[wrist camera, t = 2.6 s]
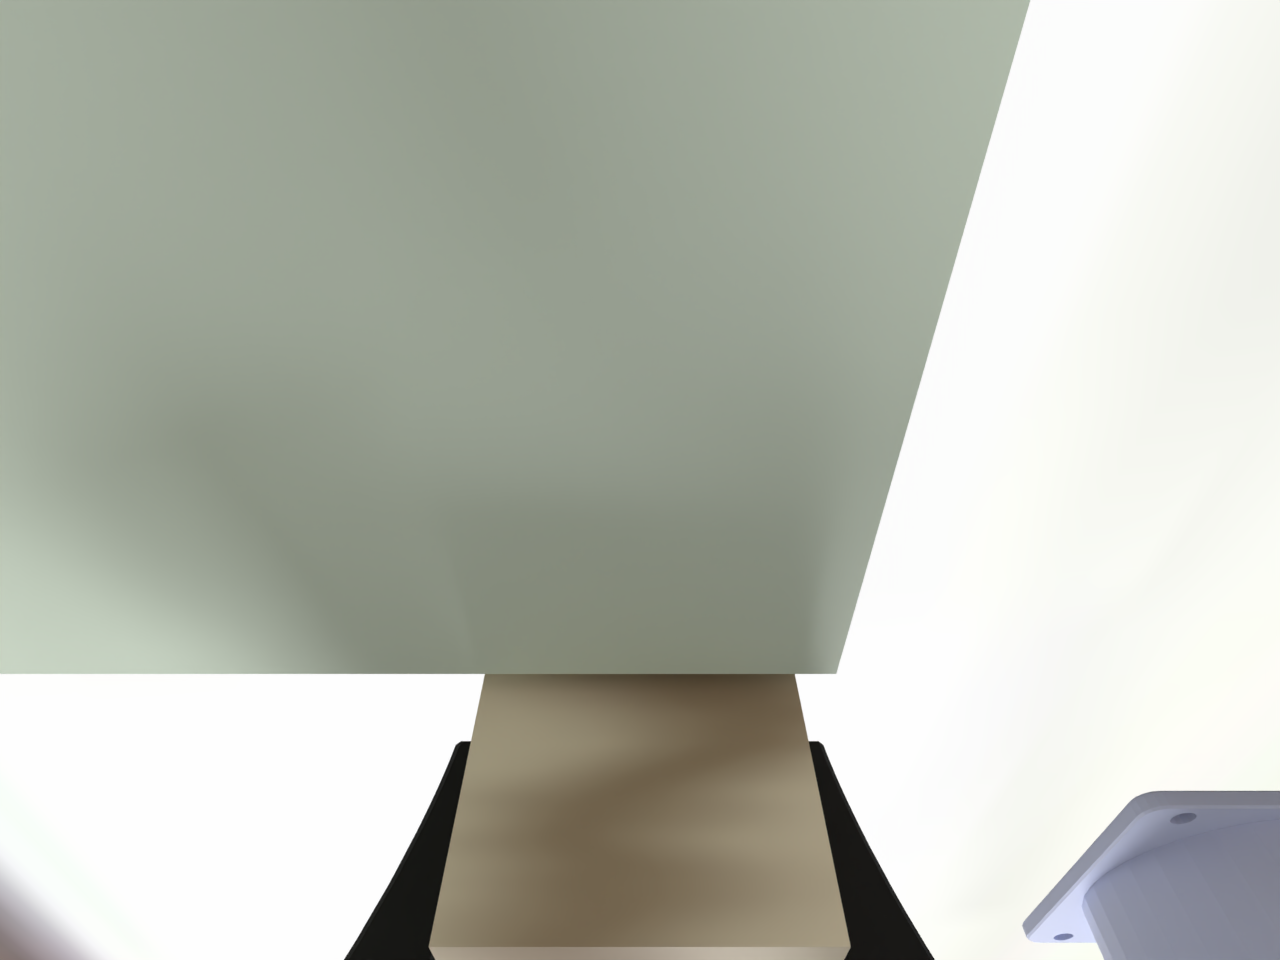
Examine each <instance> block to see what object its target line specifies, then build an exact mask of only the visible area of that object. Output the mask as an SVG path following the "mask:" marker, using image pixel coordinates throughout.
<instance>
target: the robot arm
mask: <svg viewBox="0 0 1280 960" xmlns="http://www.w3.org/2000/svg"><path fill="white" fill-rule="evenodd" d="M470 744H471V741H461V742H459V743H458V744H456V745H455V748H454V750H453V753H452V756H451V758H450V761H449V763H448V765H447V768H446V770H445V772H444V775H443V777H442V779H441V782H440V784H439V786H438V788H437V790H436V793H435V795H434V797H433V799H432V801H431V803H430V805H429V807H428V810H427V812H426V814H425V816H424V818H423V820H422V822H421V824H420V826H419V828H418V830H417V832H416V834H415V836H414V838H413V839H412V841H411V843H410V845H409V847H408V849H407V851H406V853H405V855H404V857H403V858H402V860H401V862H400V864H399V866H398V868H397V870H396V872H395V874H394V876H393V877H392V879H391V881H390V883H389V885H388V886H387V888H386V890H385V892H384V893H383V895H382V897H381V898H380V900H379V902H378V904H377V905H376V907H375V909H374V910H373V912H372V914H371V915H370V917H369V919H368V921H367V922H366V924H365V926H364V927H363V929H362V931H361V933H360V934H359V936H358V938H357V939H356V941H355V943H354V944H353V946H352V947H351V949H350V951H349V952H348V954H347V955H346V957H345V959H344V960H435V958H434V956H433V954H432V952H431V951H430V949H429V943H430V938H431V933H432V928H433V923H434V918H435V914H436V909H437V904H438V899H439V894H440V889H441V884H442V880H443V875H444V870H445V865H446V860H447V855H448V850H449V846H450V841H451V836H452V831H453V826H454V821H455V816H456V812H457V807H458V802H459V797H460V792H461V787H462V782H463V778H464V773H465V768H466V763H467V758H468V753H469V748H470ZM809 746H810V751H811V756H812V760H813V765H814V770H815V775H816V780H817V785H818V790H819V795H820V799H821V804H822V809H823V814H824V819H825V824H826V829H827V834H828V838H829V843H830V848H831V853H832V858H833V863H834V868H835V873H836V877H837V882H838V887H839V892H840V897H841V902H842V907H843V911H844V916H845V921H846V926H847V931H848V936H849V941H850V946H851V947H850V949H849V951H848V953H847V955H846V957H845V959H844V960H935V959H934V957H933V956H932V954H931V953H930V951H929V949H928V948H927V946H926V944H925V943H924V941H923V939H922V938H921V936H920V934H919V933H918V931H917V929H916V928H915V926H914V924H913V923H912V921H911V919H910V918H909V916H908V914H907V913H906V911H905V909H904V908H903V906H902V904H901V902H900V901H899V899H898V897H897V895H896V893H895V892H894V890H893V888H892V886H891V885H890V883H889V881H888V879H887V877H886V875H885V873H884V872H883V870H882V868H881V866H880V864H879V862H878V860H877V859H876V857H875V855H874V853H873V851H872V849H871V848H870V846H869V844H868V842H867V840H866V838H865V836H864V834H863V832H862V830H861V828H860V826H859V824H858V822H857V820H856V818H855V816H854V814H853V811H852V809H851V807H850V805H849V803H848V801H847V799H846V797H845V795H844V792H843V790H842V788H841V786H840V784H839V781H838V779H837V777H836V775H835V772H834V770H833V767H832V765H831V763H830V760H829V758H828V755H827V753H826V750H825V748H824V745H823V744H822V743H820V742H819V741H809ZM1022 927H1023V930H1024V932H1025V935H1026V937H1027V939H1028V940H1030V941H1032V942H1037V943H1097V945H1098V947H1099V949H1100V952H1101V954H1102V956H1103V958H1104V960H1280V791H1152V792H1147V793H1144V794H1141V795H1139V796H1136V797H1135V798H1133V799H1132V800H1131V801H1130V802H1129V803H1128V804H1127V805H1126V806H1125V807H1124V809H1123V810H1122V811H1121V812H1120V813H1119V814H1118V815H1117V817H1116V818H1115V819H1114V820H1113V821H1112V822H1111V823H1110V824H1109V826H1108V827H1107V828H1106V829H1105V830H1104V831H1103V832H1102V833H1101V835H1100V836H1099V837H1098V838H1097V839H1096V840H1095V841H1094V843H1093V844H1092V845H1091V846H1090V847H1089V848H1088V849H1087V850H1086V852H1085V853H1084V854H1083V855H1082V856H1081V857H1080V858H1079V859H1078V861H1077V862H1076V863H1075V864H1074V865H1073V866H1072V867H1071V869H1070V870H1069V871H1068V872H1067V873H1066V874H1065V875H1064V876H1063V878H1062V879H1061V880H1060V881H1059V882H1058V883H1057V884H1056V885H1055V887H1054V888H1053V889H1052V890H1051V891H1050V892H1049V893H1048V895H1047V896H1046V897H1045V898H1044V899H1043V900H1042V901H1041V902H1040V904H1039V905H1038V906H1037V907H1036V908H1035V909H1034V910H1033V911H1032V913H1031V914H1030V915H1029V916H1028V917H1027V918H1026V919H1025V921H1024V922H1023V924H1022Z"/></svg>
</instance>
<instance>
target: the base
mask: <svg viewBox="0 0 1280 960" xmlns="http://www.w3.org/2000/svg"><path fill="white" fill-rule="evenodd" d="M1029 3H1030V0H0V674H836V673H837V670H838V666H839V663H840V659H841V656H842V652H843V649H844V645H845V642H846V638H847V635H848V631H849V628H850V625H851V621H852V618H853V614H854V611H855V607H856V604H857V600H858V597H859V593H860V590H861V586H862V583H863V579H864V576H865V572H866V569H867V566H868V562H869V559H870V555H871V552H872V548H873V545H874V541H875V538H876V534H877V531H878V527H879V524H880V520H881V517H882V513H883V510H884V507H885V503H886V500H887V496H888V493H889V489H890V486H891V482H892V479H893V475H894V472H895V468H896V465H897V461H898V458H899V454H900V451H901V448H902V444H903V441H904V437H905V434H906V430H907V427H908V423H909V420H910V416H911V413H912V409H913V406H914V402H915V399H916V395H917V392H918V389H919V385H920V382H921V378H922V375H923V371H924V368H925V364H926V361H927V357H928V354H929V350H930V347H931V343H932V340H933V336H934V333H935V330H936V326H937V323H938V319H939V316H940V312H941V309H942V305H943V302H944V298H945V295H946V291H947V288H948V284H949V281H950V277H951V274H952V271H953V267H954V264H955V260H956V257H957V253H958V250H959V246H960V243H961V239H962V236H963V232H964V229H965V225H966V222H967V218H968V215H969V212H970V208H971V205H972V201H973V198H974V194H975V191H976V187H977V184H978V180H979V177H980V173H981V170H982V166H983V163H984V159H985V156H986V153H987V149H988V146H989V142H990V139H991V135H992V132H993V128H994V125H995V121H996V118H997V114H998V111H999V107H1000V104H1001V100H1002V97H1003V94H1004V90H1005V87H1006V83H1007V80H1008V76H1009V73H1010V69H1011V66H1012V62H1013V59H1014V55H1015V52H1016V48H1017V45H1018V41H1019V38H1020V35H1021V31H1022V28H1023V24H1024V21H1025V17H1026V14H1027V10H1028V7H1029Z"/></svg>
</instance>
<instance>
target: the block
mask: <svg viewBox="0 0 1280 960" xmlns="http://www.w3.org/2000/svg"><path fill="white" fill-rule="evenodd" d="M850 947H851V946H850V941H849V936H848V931H847V926H846V921H845V916H844V911H843V907H842V902H841V897H840V892H839V887H838V882H837V877H836V873H835V868H834V863H833V858H832V853H831V848H830V843H829V838H828V834H827V829H826V824H825V819H824V814H823V809H822V804H821V799H820V795H819V790H818V785H817V780H816V775H815V770H814V765H813V760H812V756H811V751H810V746H809V741H808V736H807V731H806V726H805V721H804V717H803V712H802V707H801V702H800V697H799V692H798V687H797V682H796V678H795V674H485V676H484V680H483V685H482V690H481V695H480V700H479V705H478V710H477V714H476V719H475V724H474V729H473V734H472V739H471V744H470V748H469V753H468V758H467V763H466V768H465V773H464V778H463V782H462V787H461V792H460V797H459V802H458V807H457V812H456V816H455V821H454V826H453V831H452V836H451V841H450V846H449V850H448V855H447V860H446V865H445V870H444V875H443V880H442V884H441V889H440V894H439V899H438V904H437V909H436V914H435V918H434V923H433V928H432V933H431V938H430V943H429V949H430V951H431V952H432V954H433V956H434V958H435V960H844V959H845V957H846V955H847V953H848V951H849V949H850Z"/></svg>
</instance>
